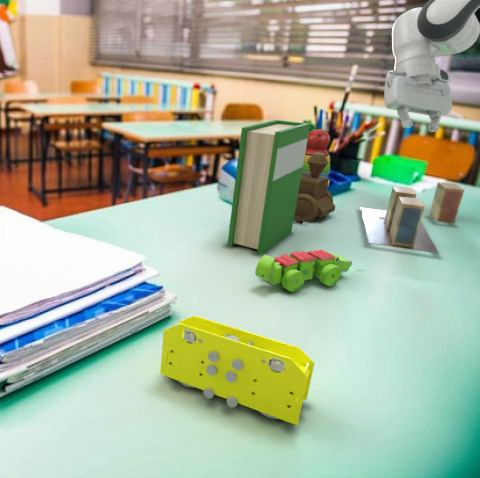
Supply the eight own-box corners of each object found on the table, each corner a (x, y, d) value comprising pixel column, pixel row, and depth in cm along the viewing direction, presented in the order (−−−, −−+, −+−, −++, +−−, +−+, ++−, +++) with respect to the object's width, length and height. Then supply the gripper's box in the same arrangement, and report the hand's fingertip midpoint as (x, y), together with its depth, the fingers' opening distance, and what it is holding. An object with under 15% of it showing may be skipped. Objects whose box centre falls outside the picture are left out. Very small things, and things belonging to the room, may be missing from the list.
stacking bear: (294, 183, 153) (304, 125, 146) (328, 188, 148) (340, 129, 142) (285, 190, 144) (295, 129, 138) (321, 196, 139) (334, 133, 133)
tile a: (402, 224, 116) (412, 187, 113) (406, 233, 110) (416, 194, 107) (384, 222, 117) (392, 185, 114) (386, 230, 112) (396, 192, 108)
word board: (415, 217, 124) (416, 214, 124) (438, 256, 100) (439, 252, 100) (359, 210, 129) (360, 206, 128) (367, 246, 104) (368, 242, 104)
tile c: (446, 218, 125) (456, 183, 121) (454, 226, 119) (464, 190, 116) (428, 216, 126) (438, 182, 122) (435, 223, 120) (445, 188, 117)
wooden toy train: (240, 208, 126) (248, 143, 120) (261, 200, 134) (270, 138, 128) (316, 228, 114) (330, 156, 108) (335, 217, 121) (349, 150, 115)
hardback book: (261, 254, 97) (280, 132, 89) (227, 245, 101) (241, 127, 93) (291, 232, 111) (310, 123, 102) (260, 224, 115) (275, 119, 106)
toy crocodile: (330, 267, 93) (337, 237, 91) (358, 282, 87) (365, 250, 85) (242, 280, 86) (247, 248, 84) (265, 298, 80) (271, 263, 78)
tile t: (409, 238, 107) (419, 198, 104) (413, 248, 102) (424, 206, 98) (388, 235, 108) (398, 196, 105) (391, 244, 103) (402, 203, 100)
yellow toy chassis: (158, 381, 59) (162, 321, 56) (177, 358, 63) (182, 301, 60) (295, 434, 51) (309, 367, 48) (305, 403, 56) (319, 341, 53)
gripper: (398, 63, 116) (403, 120, 114) (454, 75, 124) (460, 129, 122) (374, 74, 122) (379, 128, 120) (430, 85, 130) (435, 136, 128)
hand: (421, 129), depth 121 cm, fingers open, 8 cm apart
